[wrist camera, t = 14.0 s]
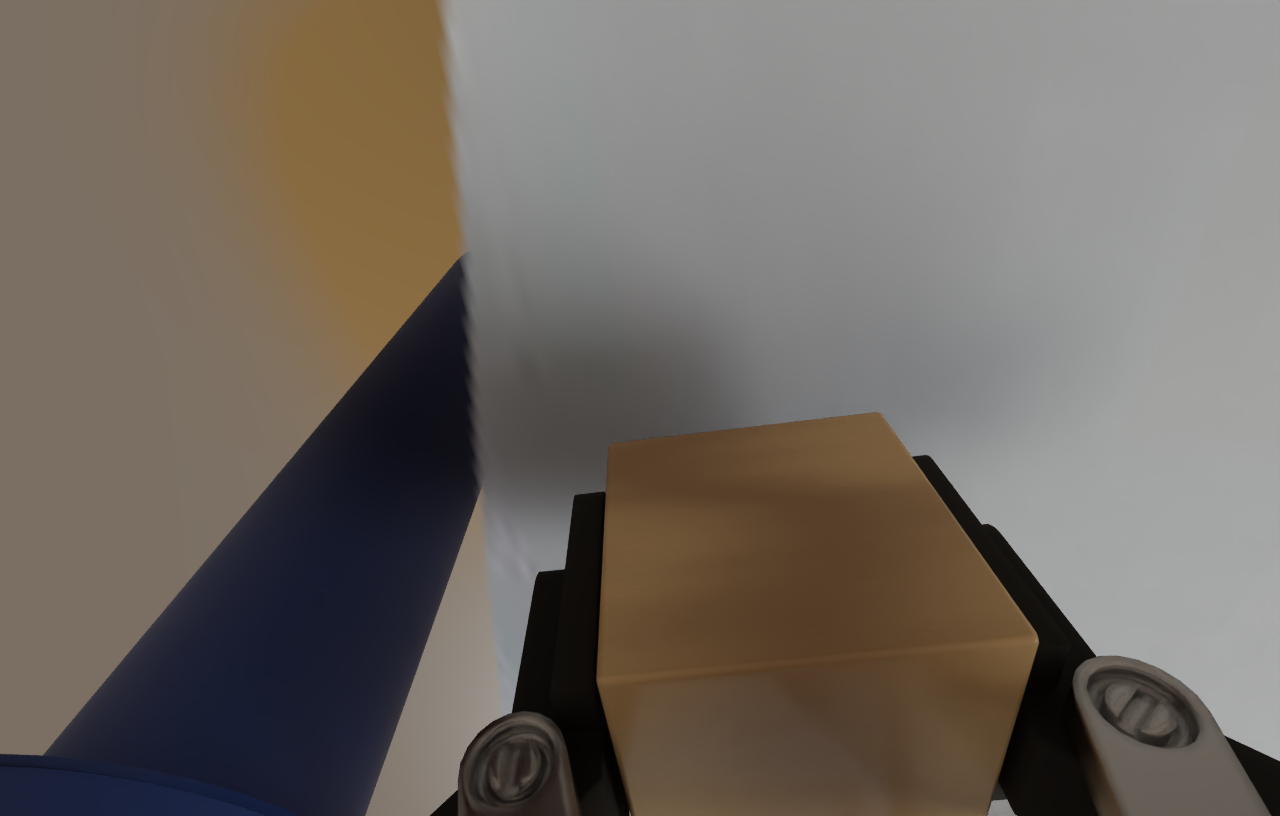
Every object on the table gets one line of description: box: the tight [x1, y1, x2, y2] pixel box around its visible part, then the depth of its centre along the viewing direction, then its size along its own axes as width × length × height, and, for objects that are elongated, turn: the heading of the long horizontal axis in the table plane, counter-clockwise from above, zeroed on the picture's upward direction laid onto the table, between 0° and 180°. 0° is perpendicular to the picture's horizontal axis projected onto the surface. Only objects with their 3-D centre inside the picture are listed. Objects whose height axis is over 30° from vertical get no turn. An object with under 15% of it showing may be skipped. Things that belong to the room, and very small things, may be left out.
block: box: [596, 412, 1039, 816], centre depth 9 cm, size 5×5×5 cm
